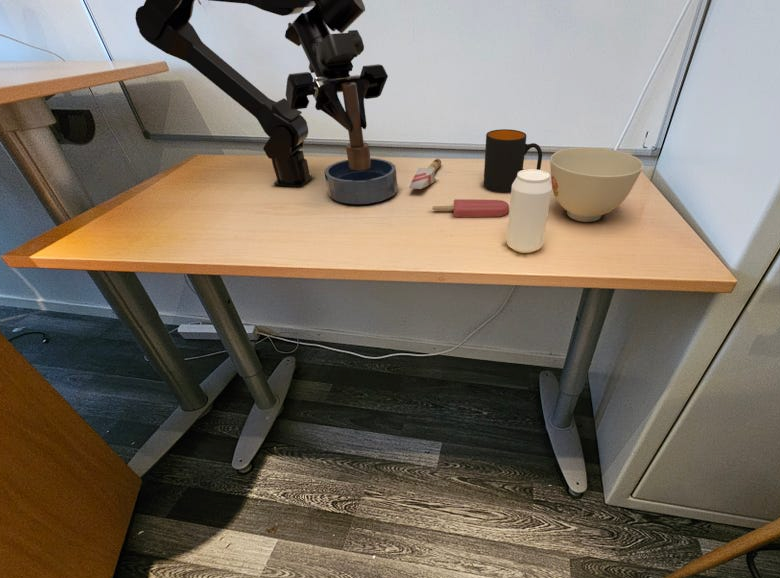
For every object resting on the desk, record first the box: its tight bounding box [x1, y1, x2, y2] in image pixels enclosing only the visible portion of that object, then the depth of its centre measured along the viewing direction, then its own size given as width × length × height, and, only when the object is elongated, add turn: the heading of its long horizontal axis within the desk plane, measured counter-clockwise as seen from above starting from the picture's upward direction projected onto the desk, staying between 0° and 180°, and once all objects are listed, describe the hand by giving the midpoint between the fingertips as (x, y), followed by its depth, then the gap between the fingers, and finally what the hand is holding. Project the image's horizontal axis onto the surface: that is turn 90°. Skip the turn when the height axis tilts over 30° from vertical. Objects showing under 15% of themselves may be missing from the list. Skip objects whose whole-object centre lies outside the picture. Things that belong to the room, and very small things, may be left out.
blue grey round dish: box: [323, 157, 398, 205], centre depth 88 cm, size 15×15×5 cm
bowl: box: [549, 146, 644, 223], centre depth 77 cm, size 16×16×10 cm
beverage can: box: [506, 168, 553, 254], centre depth 67 cm, size 6×6×12 cm
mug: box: [483, 128, 543, 194], centre depth 88 cm, size 8×12×10 cm
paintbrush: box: [408, 158, 442, 190], centre depth 94 cm, size 4×3×20 cm
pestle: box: [341, 83, 371, 171], centre depth 78 cm, size 4×4×14 cm
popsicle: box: [432, 198, 510, 218], centre depth 81 cm, size 5×2×15 cm
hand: (358, 129), depth 77 cm, fingers closed on pestle, 2 cm apart
